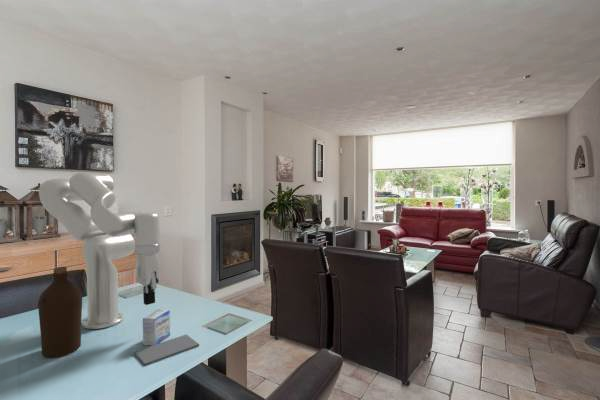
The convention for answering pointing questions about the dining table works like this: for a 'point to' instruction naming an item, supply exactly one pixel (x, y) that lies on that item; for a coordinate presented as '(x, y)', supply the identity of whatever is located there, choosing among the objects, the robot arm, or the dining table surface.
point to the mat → (165, 349)
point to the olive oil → (60, 316)
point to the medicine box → (156, 327)
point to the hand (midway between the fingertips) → (149, 303)
